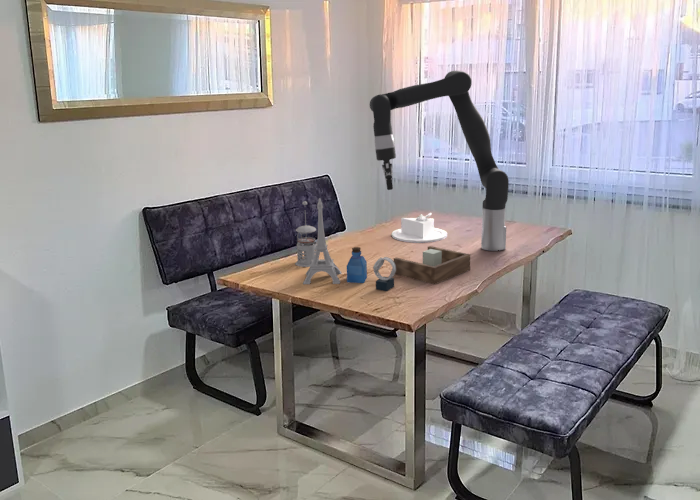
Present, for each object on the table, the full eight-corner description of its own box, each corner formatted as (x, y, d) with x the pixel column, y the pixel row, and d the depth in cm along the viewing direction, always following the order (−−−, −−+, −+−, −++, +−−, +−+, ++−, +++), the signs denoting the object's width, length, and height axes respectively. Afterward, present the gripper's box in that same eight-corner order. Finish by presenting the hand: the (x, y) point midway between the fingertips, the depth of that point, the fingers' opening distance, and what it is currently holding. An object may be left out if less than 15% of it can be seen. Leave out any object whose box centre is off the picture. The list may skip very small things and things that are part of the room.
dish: (455, 232, 308) (456, 208, 305) (432, 246, 288) (432, 220, 285) (408, 227, 321) (408, 203, 318) (381, 239, 301) (381, 214, 298)
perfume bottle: (363, 283, 242) (363, 250, 239) (347, 282, 244) (346, 250, 240) (366, 277, 248) (366, 246, 245) (350, 277, 249) (349, 245, 246)
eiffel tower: (306, 273, 256) (302, 195, 247) (341, 272, 255) (339, 194, 247) (302, 284, 243) (299, 202, 235) (340, 284, 242) (337, 202, 234)
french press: (301, 268, 261) (298, 205, 254) (289, 260, 271) (286, 199, 264) (323, 264, 266) (321, 202, 259) (311, 257, 275) (309, 197, 269)
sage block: (441, 271, 253) (441, 251, 251) (433, 274, 250) (433, 254, 247) (430, 269, 256) (430, 248, 254) (422, 272, 253) (422, 251, 251)
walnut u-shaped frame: (470, 269, 254) (470, 254, 252) (434, 284, 239) (434, 268, 237) (429, 260, 267) (429, 245, 265) (393, 273, 252) (393, 258, 250)
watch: (378, 284, 241) (378, 254, 238) (398, 287, 237) (398, 257, 234) (370, 288, 236) (370, 258, 233) (391, 292, 232) (391, 261, 229)
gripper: (395, 146, 254) (400, 189, 257) (394, 145, 268) (398, 185, 271) (375, 149, 255) (380, 191, 258) (375, 147, 269) (380, 188, 272)
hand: (389, 188), depth 265 cm, fingers open, 8 cm apart
